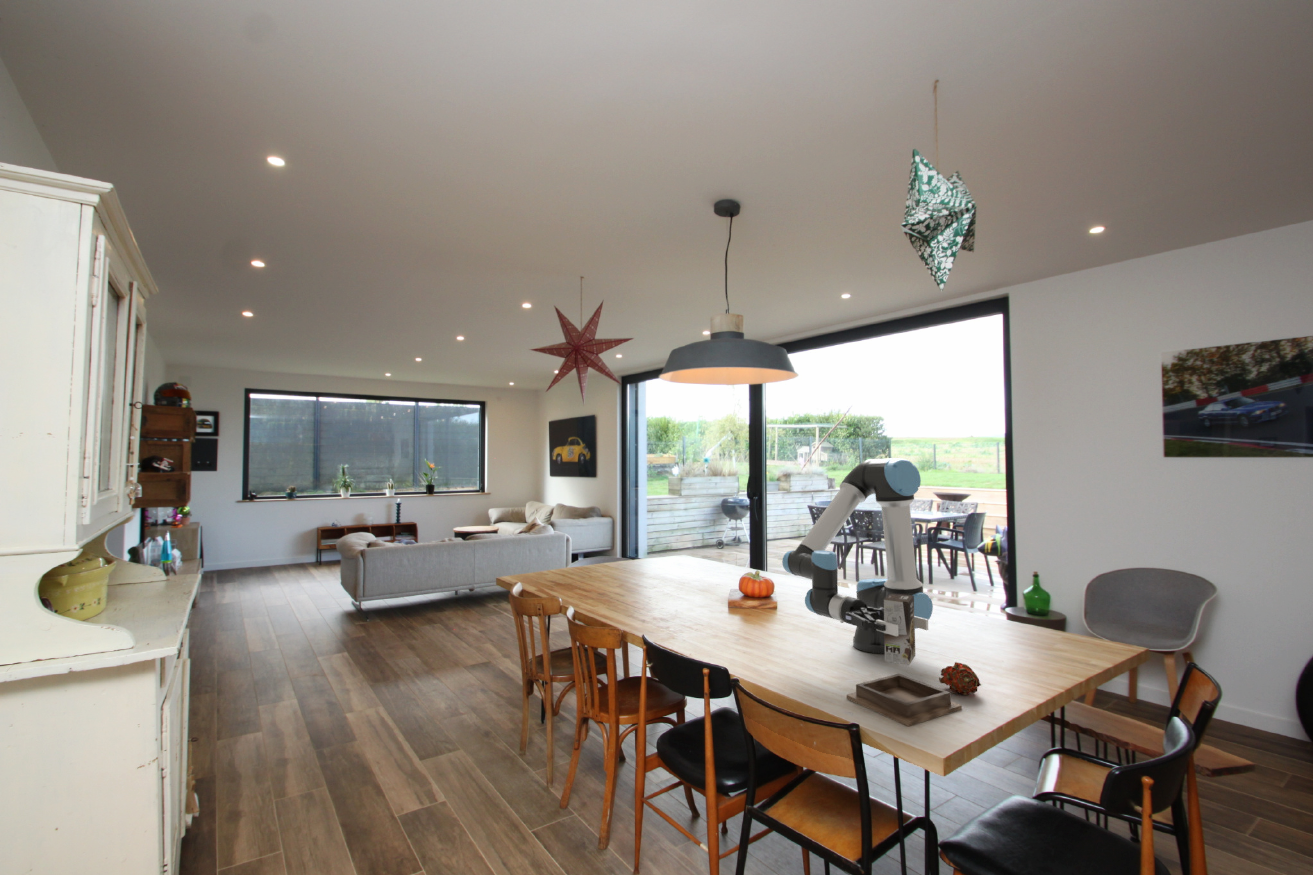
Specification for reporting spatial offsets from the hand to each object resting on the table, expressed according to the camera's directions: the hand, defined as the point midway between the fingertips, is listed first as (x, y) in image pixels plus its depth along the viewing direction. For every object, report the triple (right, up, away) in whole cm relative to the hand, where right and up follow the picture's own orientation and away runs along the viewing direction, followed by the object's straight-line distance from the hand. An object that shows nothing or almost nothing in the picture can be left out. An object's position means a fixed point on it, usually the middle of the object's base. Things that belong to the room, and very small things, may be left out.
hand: (912, 627), depth 157 cm
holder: (-1, -21, +3) cm, 21 cm away
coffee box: (-2, -9, +3) cm, 10 cm away
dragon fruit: (+17, -21, +10) cm, 29 cm away
